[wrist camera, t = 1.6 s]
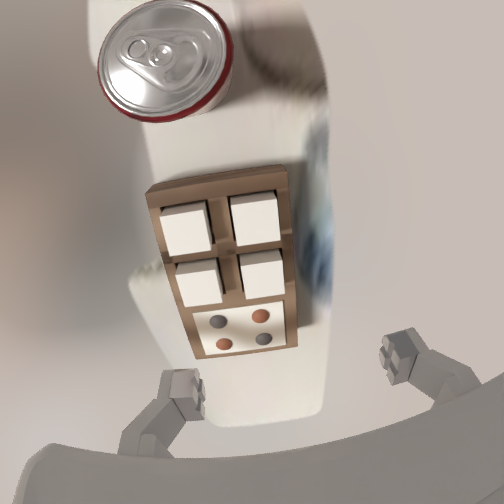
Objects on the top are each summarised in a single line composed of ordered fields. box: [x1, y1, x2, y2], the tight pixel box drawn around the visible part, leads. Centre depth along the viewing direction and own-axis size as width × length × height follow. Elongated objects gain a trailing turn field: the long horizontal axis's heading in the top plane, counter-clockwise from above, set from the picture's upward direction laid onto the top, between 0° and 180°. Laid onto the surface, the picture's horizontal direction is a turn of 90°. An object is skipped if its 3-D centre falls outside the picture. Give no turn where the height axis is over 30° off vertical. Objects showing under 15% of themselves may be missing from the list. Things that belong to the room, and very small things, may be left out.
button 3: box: [240, 248, 285, 299], centre depth 27 cm, size 4×4×2 cm
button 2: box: [160, 200, 212, 256], centre depth 25 cm, size 4×4×2 cm
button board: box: [145, 165, 298, 359], centre depth 29 cm, size 20×12×3 cm, turn 7°
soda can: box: [97, 0, 234, 123], centre depth 17 cm, size 7×7×12 cm
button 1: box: [175, 257, 223, 307], centre depth 27 cm, size 4×4×2 cm
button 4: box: [231, 190, 280, 246], centre depth 25 cm, size 4×4×2 cm
